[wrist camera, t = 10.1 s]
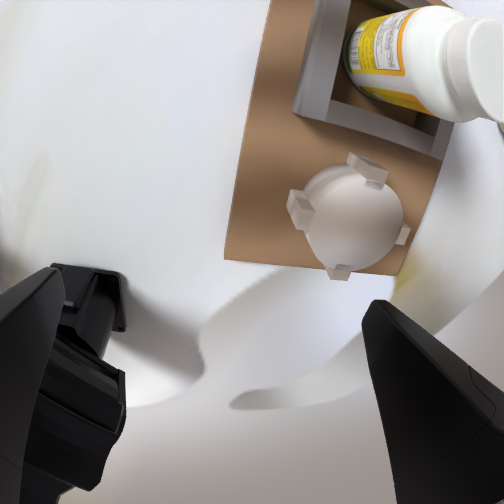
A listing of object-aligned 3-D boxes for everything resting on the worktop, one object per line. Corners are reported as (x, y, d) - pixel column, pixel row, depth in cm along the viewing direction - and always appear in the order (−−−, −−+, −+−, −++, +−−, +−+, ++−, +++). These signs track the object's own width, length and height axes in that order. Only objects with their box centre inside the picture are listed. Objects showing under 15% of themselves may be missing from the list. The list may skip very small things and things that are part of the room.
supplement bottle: (322, 41, 13) (425, 15, 5) (389, 10, 12) (506, -10, 3) (369, 116, 16) (482, 165, 7) (428, 81, 14) (546, 112, 6)
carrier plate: (390, 269, 23) (411, 299, 20) (224, 251, 21) (224, 287, 18) (463, 22, 12) (499, 22, 9) (284, -58, 10) (298, -86, 6)
